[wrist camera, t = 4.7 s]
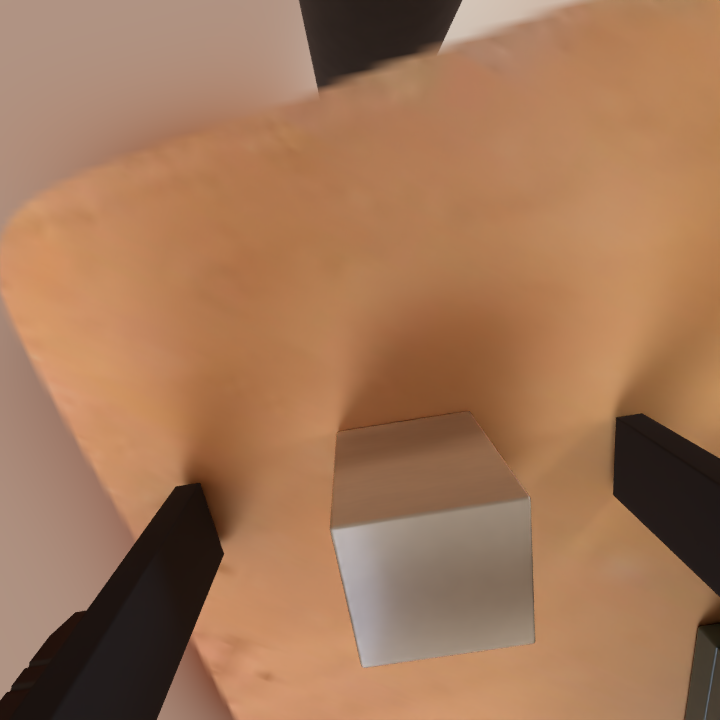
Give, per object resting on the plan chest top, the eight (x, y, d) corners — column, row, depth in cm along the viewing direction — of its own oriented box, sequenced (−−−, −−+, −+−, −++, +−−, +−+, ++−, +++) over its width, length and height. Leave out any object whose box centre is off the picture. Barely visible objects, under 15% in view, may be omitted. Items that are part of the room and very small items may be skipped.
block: (335, 431, 11) (328, 528, 7) (469, 409, 11) (531, 497, 7) (357, 538, 12) (361, 670, 9) (478, 519, 12) (536, 645, 9)
